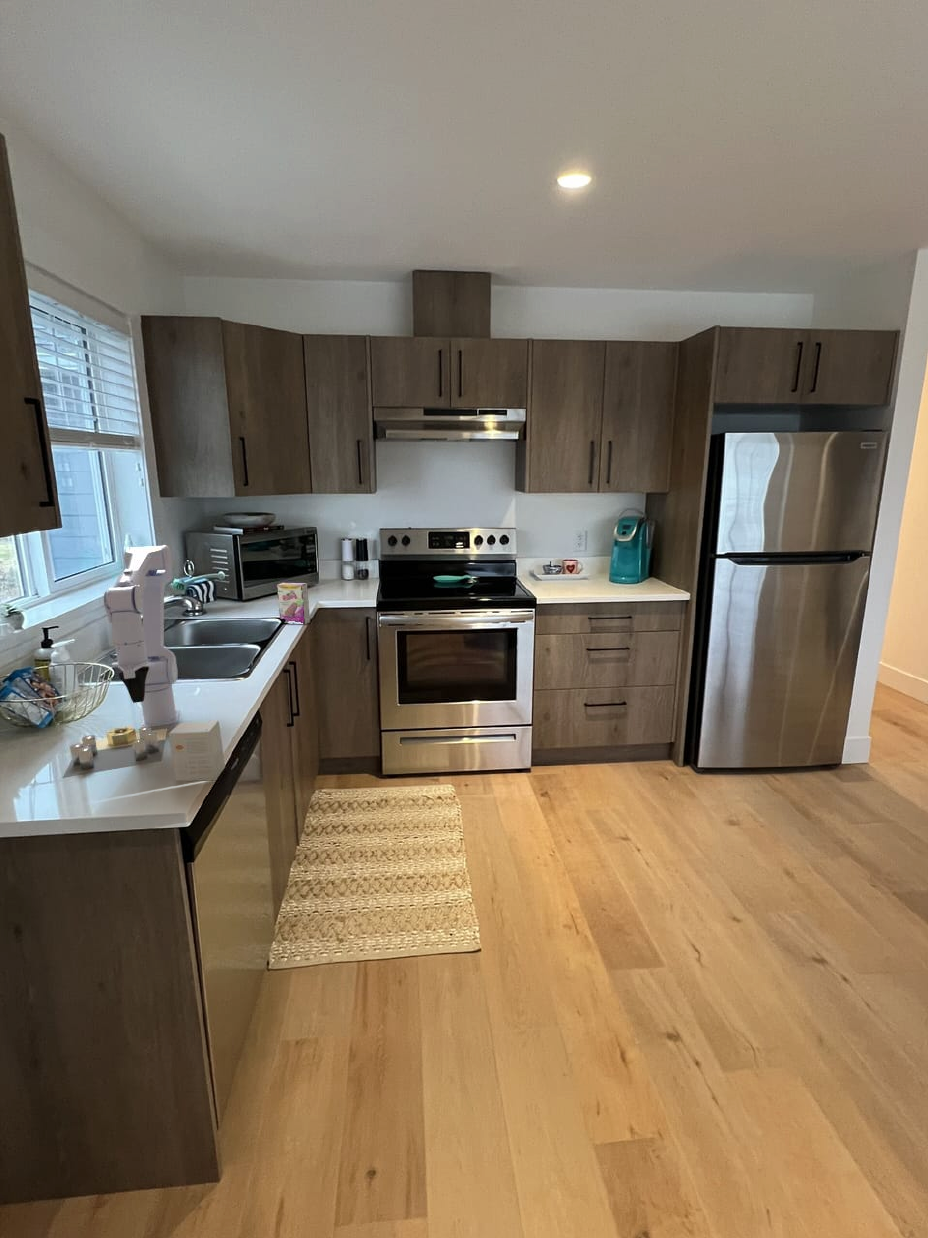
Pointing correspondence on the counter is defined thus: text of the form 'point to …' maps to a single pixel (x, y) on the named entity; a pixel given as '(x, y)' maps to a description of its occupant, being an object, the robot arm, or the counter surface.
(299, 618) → the candy bar box
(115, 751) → the spacer mat
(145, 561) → the robot arm
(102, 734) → the counter surface
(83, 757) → the standing spacers
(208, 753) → the small box
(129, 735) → the brass nut
